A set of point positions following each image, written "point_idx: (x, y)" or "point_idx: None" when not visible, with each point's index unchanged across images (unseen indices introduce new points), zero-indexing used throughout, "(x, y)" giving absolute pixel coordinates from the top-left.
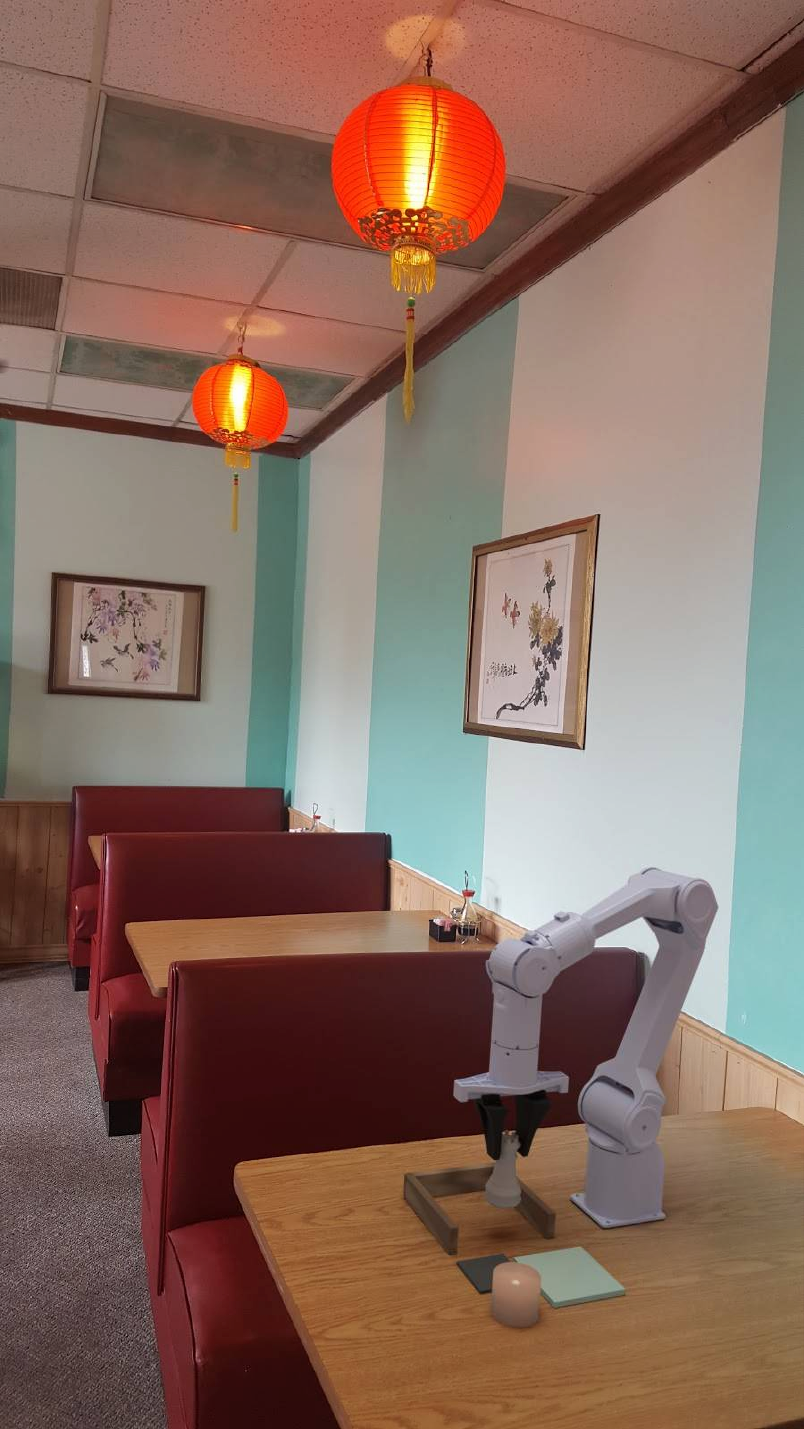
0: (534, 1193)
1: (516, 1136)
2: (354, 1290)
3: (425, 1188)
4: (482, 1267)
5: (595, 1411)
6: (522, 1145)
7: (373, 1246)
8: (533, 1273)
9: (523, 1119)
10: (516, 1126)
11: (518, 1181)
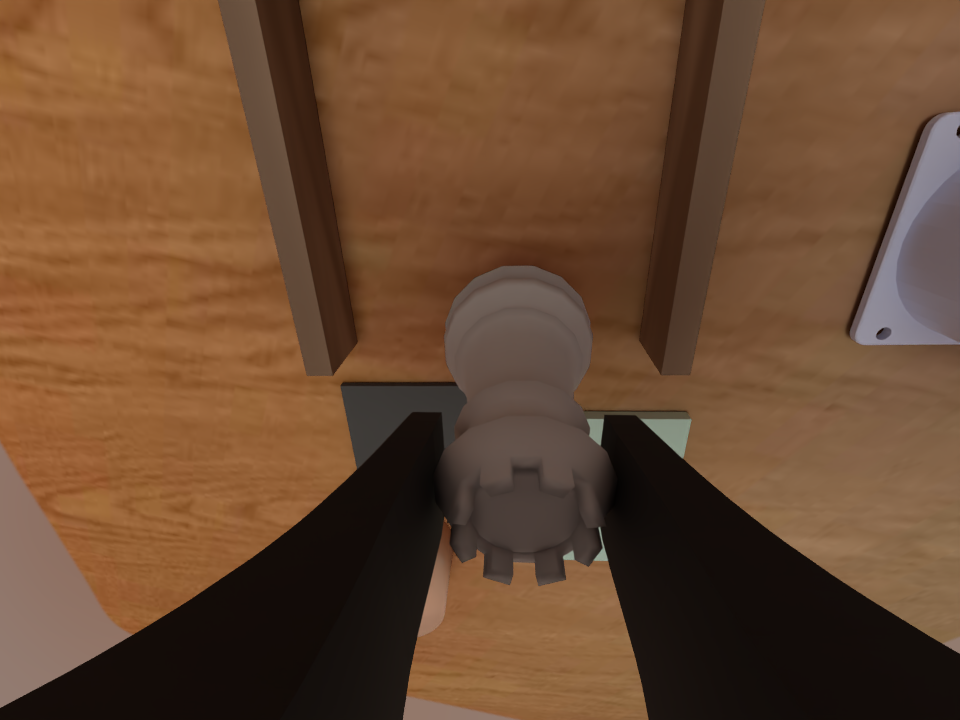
0: (718, 228)
1: (577, 560)
2: (94, 411)
3: None
4: (396, 420)
5: (430, 694)
6: (608, 526)
7: (131, 254)
8: (431, 610)
9: (673, 683)
10: (655, 503)
11: (726, 103)
